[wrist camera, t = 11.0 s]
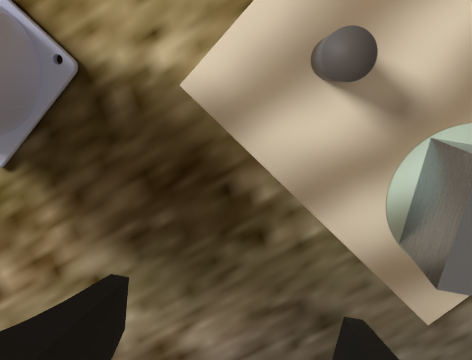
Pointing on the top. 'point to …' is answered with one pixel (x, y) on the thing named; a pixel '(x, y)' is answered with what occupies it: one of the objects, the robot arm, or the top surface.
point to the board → (348, 113)
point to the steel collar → (443, 217)
